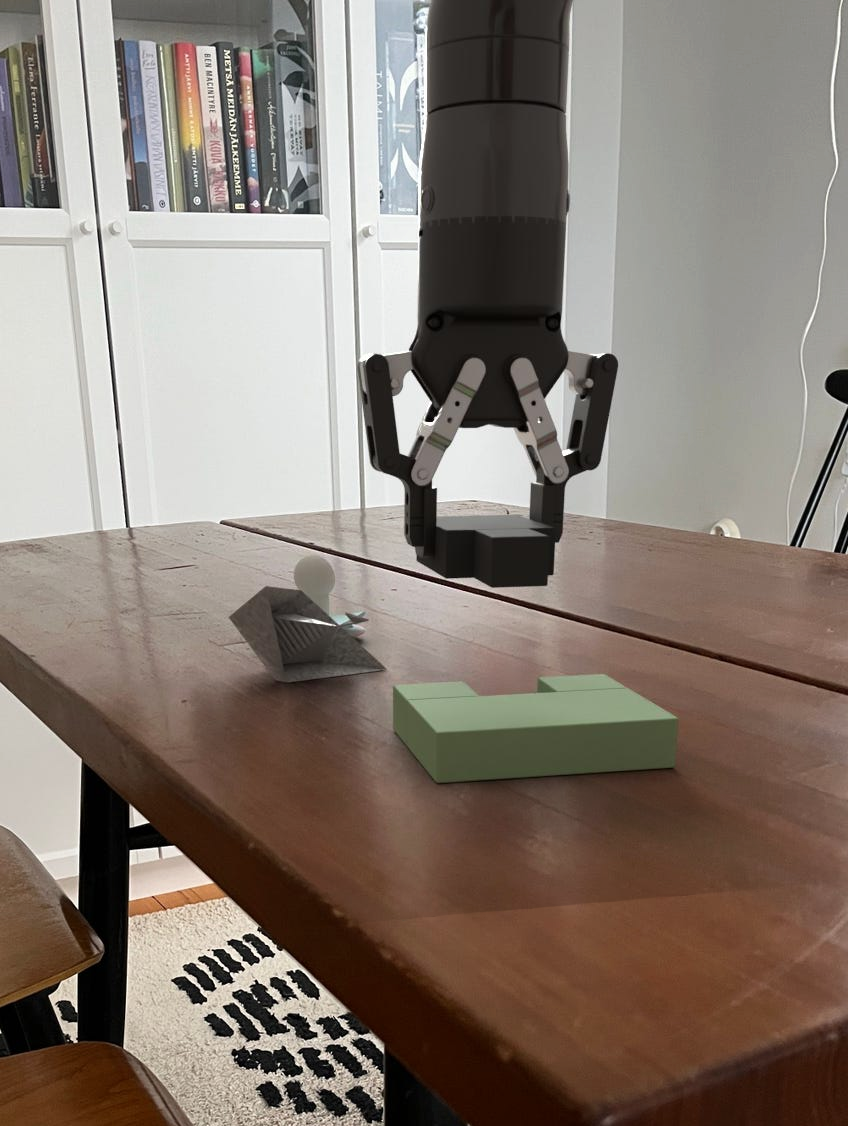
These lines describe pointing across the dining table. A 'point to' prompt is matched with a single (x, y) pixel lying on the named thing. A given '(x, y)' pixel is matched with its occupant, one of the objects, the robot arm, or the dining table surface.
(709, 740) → the dining table surface
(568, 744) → the green pad
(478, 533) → the black pad
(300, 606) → the paper boat
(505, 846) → the dining table surface
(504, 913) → the dining table surface
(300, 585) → the pacifier
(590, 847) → the dining table surface
